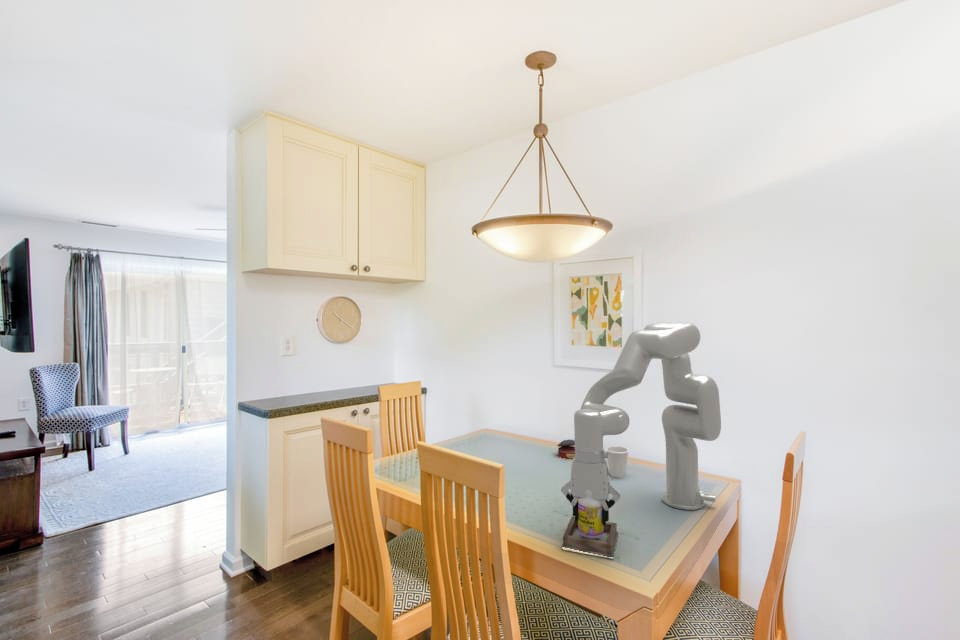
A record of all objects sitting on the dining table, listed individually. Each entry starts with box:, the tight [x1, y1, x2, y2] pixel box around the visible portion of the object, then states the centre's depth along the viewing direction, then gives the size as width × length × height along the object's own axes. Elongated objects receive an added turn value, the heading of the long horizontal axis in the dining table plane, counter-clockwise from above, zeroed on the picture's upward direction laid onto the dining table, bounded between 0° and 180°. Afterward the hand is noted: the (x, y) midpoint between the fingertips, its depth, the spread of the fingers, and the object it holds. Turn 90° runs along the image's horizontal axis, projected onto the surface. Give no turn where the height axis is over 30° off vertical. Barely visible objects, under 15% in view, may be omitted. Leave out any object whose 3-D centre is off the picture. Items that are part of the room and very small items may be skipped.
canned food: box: [556, 439, 575, 460], centre depth 191 cm, size 11×10×10 cm
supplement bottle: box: [578, 490, 603, 539], centre depth 118 cm, size 7×7×13 cm
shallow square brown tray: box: [561, 515, 619, 558], centre depth 118 cm, size 13×13×4 cm
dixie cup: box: [605, 445, 630, 479], centre depth 167 cm, size 8×8×10 cm
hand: (590, 520), depth 118 cm, fingers closed on supplement bottle, 6 cm apart
